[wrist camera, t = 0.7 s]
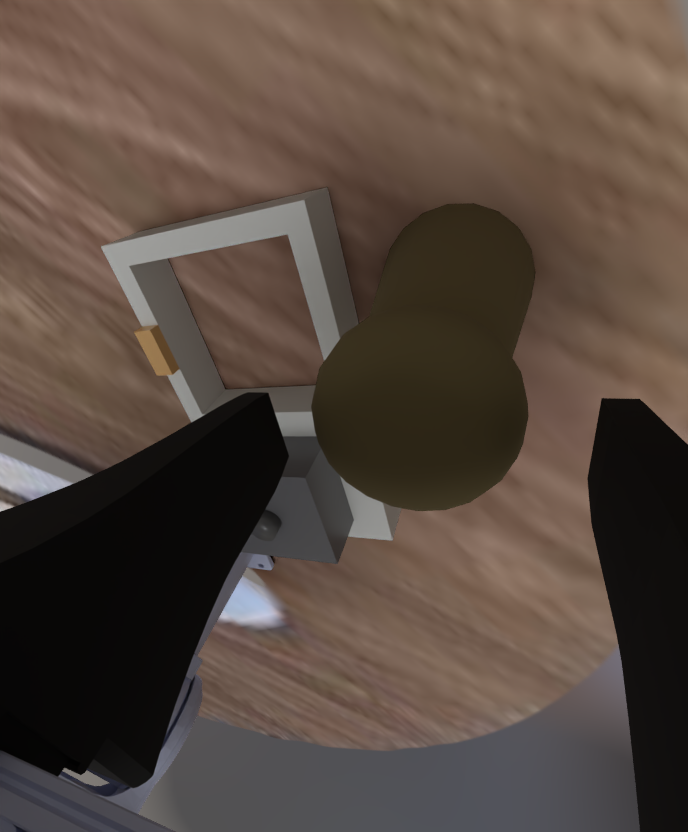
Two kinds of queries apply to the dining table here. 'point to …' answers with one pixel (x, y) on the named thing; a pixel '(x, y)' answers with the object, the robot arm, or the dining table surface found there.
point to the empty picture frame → (204, 391)
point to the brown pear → (433, 366)
